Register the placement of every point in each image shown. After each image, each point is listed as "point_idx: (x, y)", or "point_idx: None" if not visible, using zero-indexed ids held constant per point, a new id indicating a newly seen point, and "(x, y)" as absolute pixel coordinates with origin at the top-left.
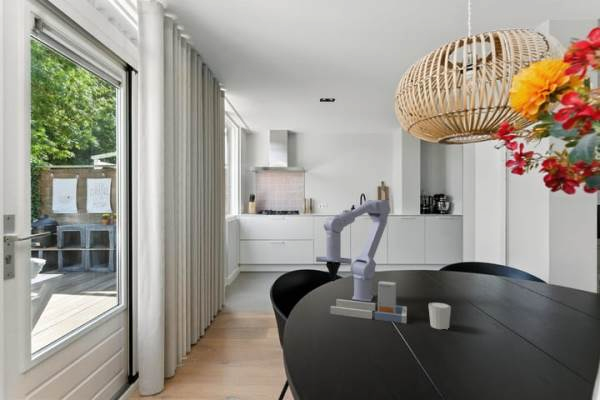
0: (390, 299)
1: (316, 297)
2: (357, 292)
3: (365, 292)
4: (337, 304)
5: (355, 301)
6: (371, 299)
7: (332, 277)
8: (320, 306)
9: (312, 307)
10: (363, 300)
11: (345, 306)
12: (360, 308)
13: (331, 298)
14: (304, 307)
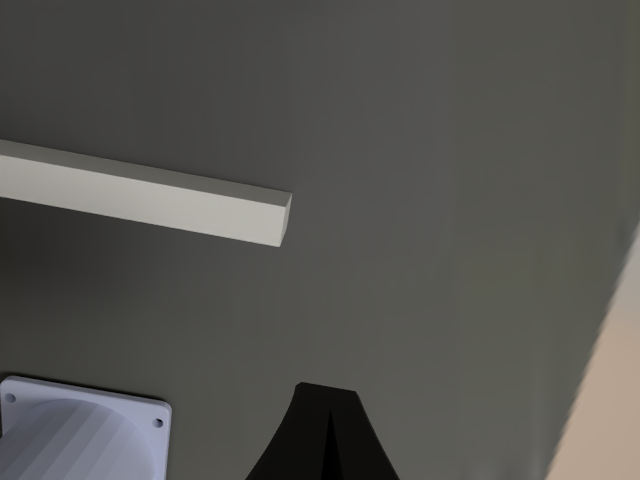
0: None
1: (490, 421)
2: (89, 455)
3: (2, 449)
4: (279, 195)
5: (75, 194)
6: (4, 420)
7: (334, 420)
8: (448, 164)
9: (531, 115)
10: (66, 386)
11: (200, 179)
12: (54, 151)
13: None
14: (617, 98)
